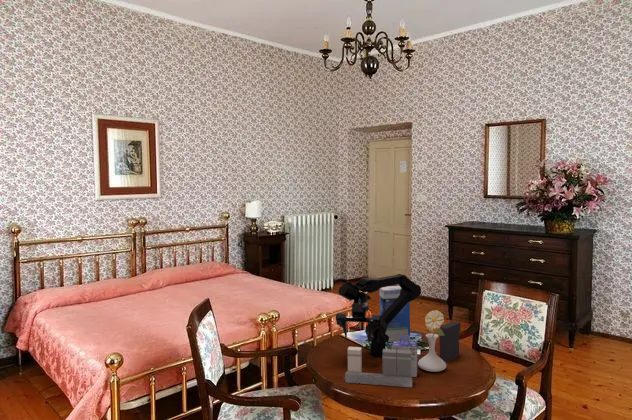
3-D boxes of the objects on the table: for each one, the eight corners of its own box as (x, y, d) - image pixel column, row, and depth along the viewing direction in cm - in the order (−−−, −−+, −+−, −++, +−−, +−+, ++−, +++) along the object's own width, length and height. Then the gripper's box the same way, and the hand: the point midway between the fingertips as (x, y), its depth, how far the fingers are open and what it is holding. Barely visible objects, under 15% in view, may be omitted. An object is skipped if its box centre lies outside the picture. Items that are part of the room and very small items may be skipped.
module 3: (397, 380, 183) (397, 349, 182) (411, 381, 182) (411, 350, 181) (397, 384, 180) (397, 352, 179) (411, 385, 179) (410, 353, 178)
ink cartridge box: (417, 371, 191) (417, 336, 190) (417, 377, 185) (417, 341, 184) (392, 370, 193) (392, 335, 192) (391, 375, 187) (391, 339, 186)
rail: (345, 375, 188) (345, 366, 188) (412, 380, 183) (412, 371, 183) (342, 382, 182) (342, 373, 182) (412, 387, 176) (412, 378, 176)
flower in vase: (412, 366, 197) (411, 306, 195) (434, 361, 201) (434, 303, 199) (431, 378, 185) (431, 314, 183) (455, 372, 189) (455, 311, 187)
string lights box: (405, 337, 233) (405, 285, 231) (410, 342, 225) (410, 288, 224) (379, 338, 231) (379, 286, 230) (383, 343, 224) (383, 289, 222)
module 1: (349, 376, 187) (348, 346, 187) (361, 377, 186) (361, 347, 186) (347, 380, 184) (347, 349, 183) (361, 381, 183) (360, 350, 182)
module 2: (383, 379, 184) (383, 348, 183) (396, 380, 183) (396, 349, 182) (382, 383, 181) (382, 352, 180) (396, 384, 180) (396, 352, 179)
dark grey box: (451, 354, 209) (451, 320, 209) (460, 356, 206) (460, 322, 205) (438, 360, 202) (438, 326, 201) (447, 363, 199) (447, 328, 198)
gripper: (336, 294, 199) (332, 328, 189) (381, 295, 196) (379, 330, 185) (338, 307, 207) (335, 341, 197) (382, 309, 204) (380, 343, 194)
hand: (357, 338), depth 193 cm, fingers open, 9 cm apart
